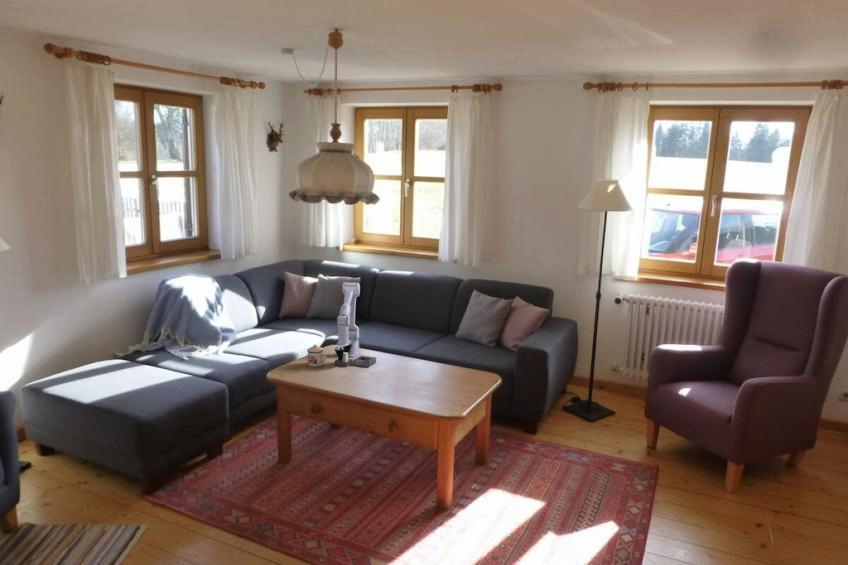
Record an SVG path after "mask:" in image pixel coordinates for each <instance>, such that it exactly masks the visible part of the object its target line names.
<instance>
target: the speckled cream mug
mask: <svg viewBox="0 0 848 565" xmlns="http://www.w3.org/2000/svg"><path fill="white" fill-rule="evenodd" d="M326 361H327V355H326V354H325V353H324V349H323V348H322V347H320V346H318V344H313V345H312V347H309V348H307V365H308V366H309V367H315V368H316V367H317V368H318V367H321V366H323V365H324V362H326Z"/></svg>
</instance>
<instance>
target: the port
mask: <svg viewBox="0 0 848 565" xmlns="http://www.w3.org/2000/svg"><path fill="white" fill-rule="evenodd" d="M376 363H377V357H376V356H375V357H374V356H368V355H358V357H356V358H354V359H353V364H352V366H356V367H362V368H368V369H369V368H370V367H371V366H373V365H375V364H376Z"/></svg>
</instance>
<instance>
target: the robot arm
mask: <svg viewBox="0 0 848 565" xmlns="http://www.w3.org/2000/svg"><path fill="white" fill-rule="evenodd" d="M360 285H361V284H360V283H359V282H344V281H343V283H342V287H341V292H342V293H343V295H344V296H343V297H344V298H343V303H342V305H341V306H340V311H339V315H337V318H336V324H337V325H336V326H337V329H338V330H337V331H338V332H337V333H338V336H337V337H338V338H337V340H338V341H337V342H336V346H335V347H334V351H335V354H336V355H337V359H338V360H339V361H342V360H343V353H344V352H347V353H348V357H349V358H350V357H351V358H354V357H356V356H359V354H361V352H360V342H359V338H360V328H359V326H358V325H356V322H355V321H356V306H357V305H356V303H357V298H359V297H360V294H361V293H360V292H361V286H360Z"/></svg>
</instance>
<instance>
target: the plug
mask: <svg viewBox="0 0 848 565" xmlns="http://www.w3.org/2000/svg"><path fill="white" fill-rule="evenodd" d="M348 359H349V356H348V353H347V352H344V353H343V360H342V361H343V362H347V361H348Z"/></svg>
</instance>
